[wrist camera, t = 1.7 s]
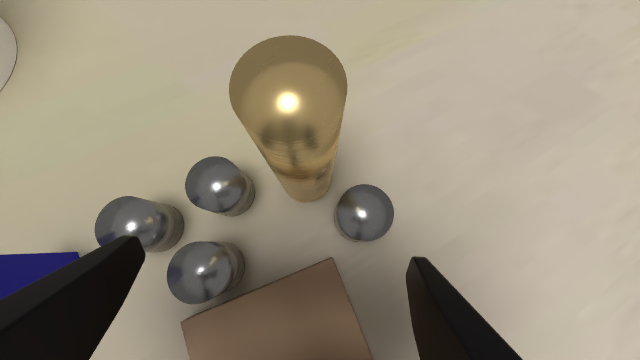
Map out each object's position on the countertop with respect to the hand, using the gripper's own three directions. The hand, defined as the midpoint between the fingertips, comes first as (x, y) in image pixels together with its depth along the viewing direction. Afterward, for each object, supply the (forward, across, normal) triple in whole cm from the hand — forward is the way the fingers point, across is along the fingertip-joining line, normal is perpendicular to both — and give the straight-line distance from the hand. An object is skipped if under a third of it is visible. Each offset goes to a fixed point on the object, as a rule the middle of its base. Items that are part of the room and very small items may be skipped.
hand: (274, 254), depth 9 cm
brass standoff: (+12, 0, +4) cm, 13 cm away
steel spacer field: (+10, +3, +7) cm, 12 cm away
